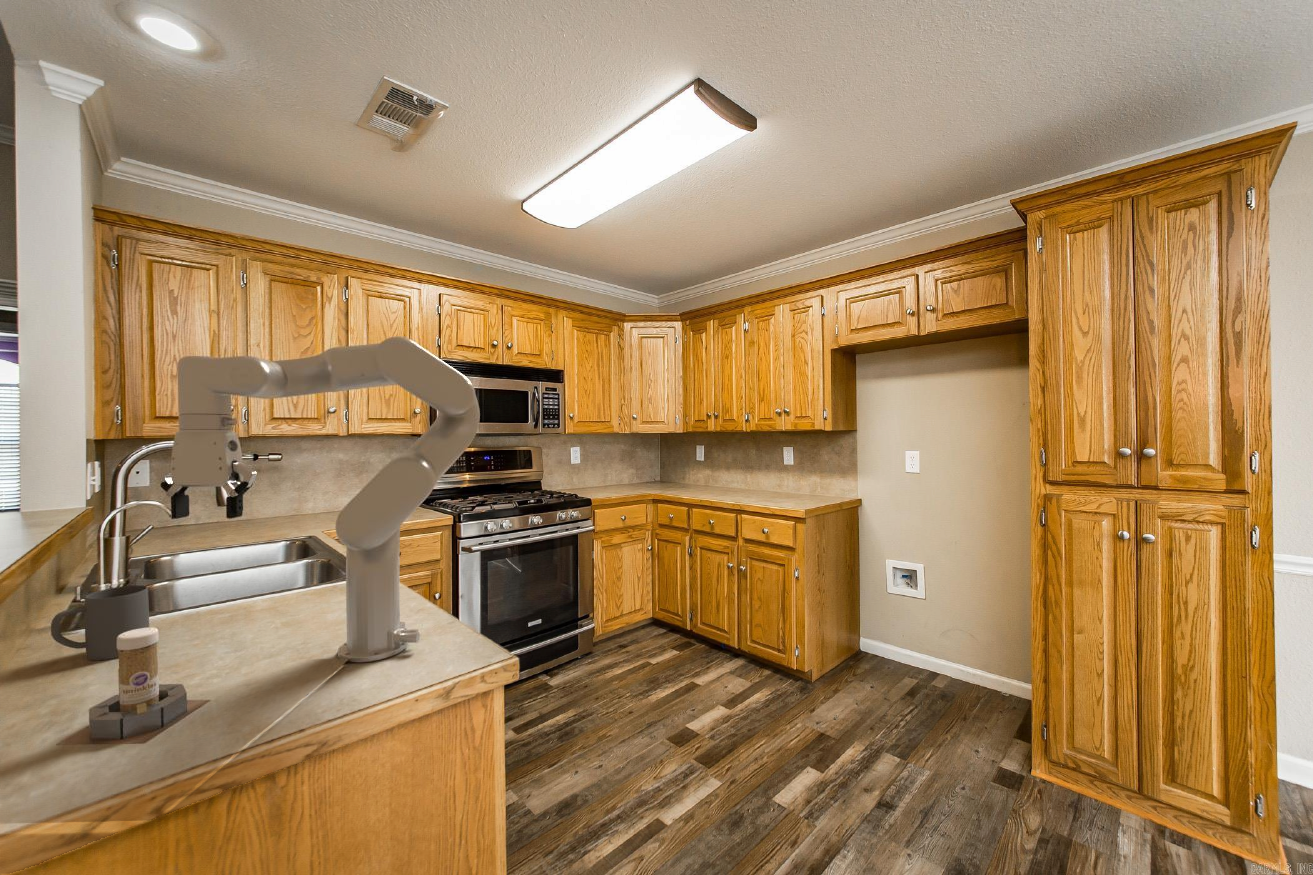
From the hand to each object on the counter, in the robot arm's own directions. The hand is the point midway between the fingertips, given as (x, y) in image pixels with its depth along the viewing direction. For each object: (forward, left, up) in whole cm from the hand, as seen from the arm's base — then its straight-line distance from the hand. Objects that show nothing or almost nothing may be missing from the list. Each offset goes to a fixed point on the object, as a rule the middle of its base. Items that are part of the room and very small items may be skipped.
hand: (207, 517), depth 101 cm
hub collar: (-4, +19, -28) cm, 34 cm away
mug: (+26, -7, -28) cm, 39 cm away
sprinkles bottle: (-4, +19, -28) cm, 34 cm away
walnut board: (-4, +19, -28) cm, 34 cm away
